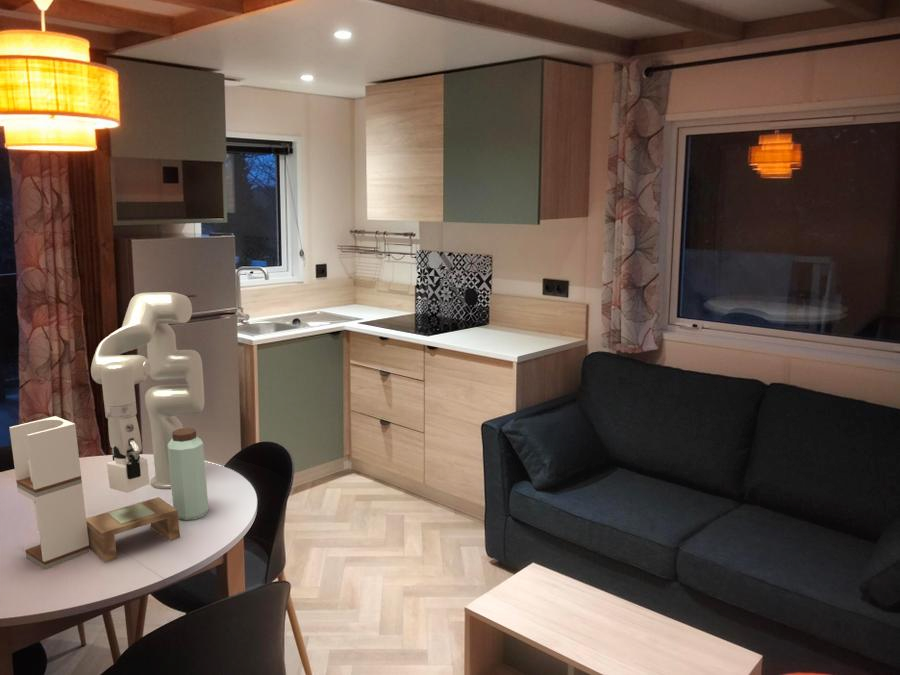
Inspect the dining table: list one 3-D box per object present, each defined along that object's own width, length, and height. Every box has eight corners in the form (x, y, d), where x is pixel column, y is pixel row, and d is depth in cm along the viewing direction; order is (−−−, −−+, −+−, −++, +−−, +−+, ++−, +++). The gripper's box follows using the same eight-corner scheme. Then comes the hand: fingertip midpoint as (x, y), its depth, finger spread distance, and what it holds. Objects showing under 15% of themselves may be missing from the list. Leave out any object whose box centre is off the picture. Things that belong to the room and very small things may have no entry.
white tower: (70, 541, 214) (55, 416, 207) (89, 552, 207) (75, 423, 200) (26, 557, 205) (9, 427, 198) (45, 569, 199) (28, 435, 192)
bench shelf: (161, 523, 224) (158, 496, 222) (180, 537, 215) (177, 508, 214) (87, 547, 210) (84, 517, 209) (104, 562, 202) (101, 532, 200)
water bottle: (216, 513, 230) (209, 430, 225) (184, 524, 223) (176, 439, 218) (198, 504, 237) (191, 423, 232) (166, 514, 230) (158, 432, 224)
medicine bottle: (150, 483, 211) (145, 440, 209) (127, 493, 205) (123, 449, 203) (131, 479, 215) (127, 436, 212) (109, 488, 208) (104, 445, 206)
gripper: (149, 413, 202) (155, 478, 205) (122, 400, 214) (128, 461, 217) (119, 419, 197) (126, 486, 200) (93, 405, 209) (100, 468, 212)
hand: (127, 472), depth 209 cm, fingers closed on medicine bottle, 8 cm apart
